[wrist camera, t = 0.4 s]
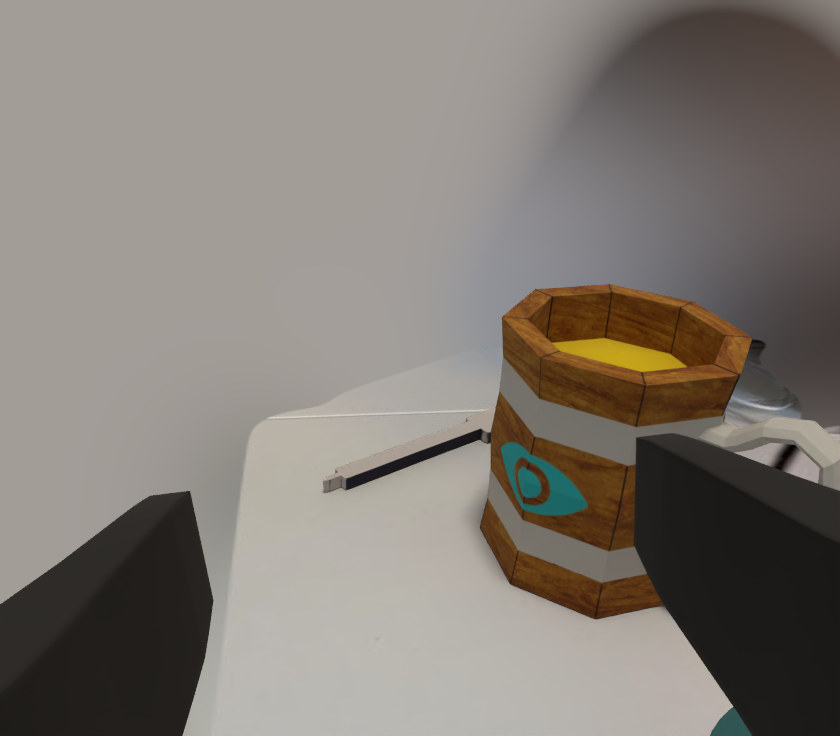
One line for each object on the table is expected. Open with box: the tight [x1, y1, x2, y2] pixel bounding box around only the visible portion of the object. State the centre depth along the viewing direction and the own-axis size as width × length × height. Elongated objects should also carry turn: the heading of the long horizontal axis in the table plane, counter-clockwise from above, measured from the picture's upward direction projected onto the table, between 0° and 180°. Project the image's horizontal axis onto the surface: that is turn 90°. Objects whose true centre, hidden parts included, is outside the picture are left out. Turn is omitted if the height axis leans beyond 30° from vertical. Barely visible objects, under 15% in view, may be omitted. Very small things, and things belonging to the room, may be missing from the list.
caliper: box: [323, 407, 496, 492], centre depth 55 cm, size 20×1×6 cm
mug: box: [480, 284, 840, 619], centre depth 40 cm, size 20×14×15 cm
